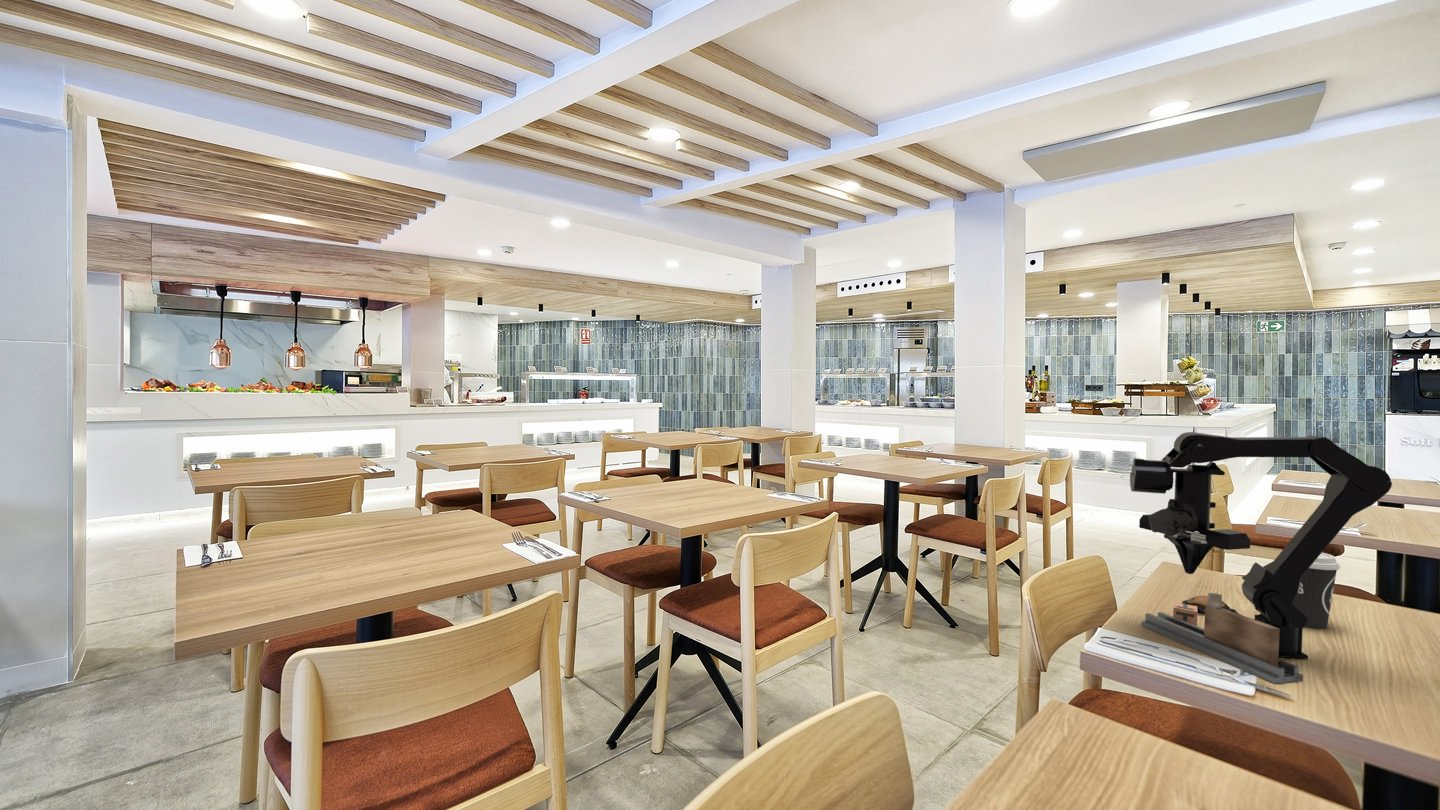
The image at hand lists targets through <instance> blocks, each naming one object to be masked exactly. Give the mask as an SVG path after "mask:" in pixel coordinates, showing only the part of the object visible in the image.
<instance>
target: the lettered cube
mask: <svg viewBox="0 0 1440 810" xmlns="http://www.w3.org/2000/svg"><path fill="white" fill-rule="evenodd" d="M1181 603H1182V602H1181ZM1181 603H1180V602H1175V601H1174V602H1173V608H1172V609H1173V611H1172V612H1173V613H1172V616H1173V617H1175V618H1178V619H1180V620H1183V621H1185V622H1188V623H1190V624H1193V625H1195V626H1198V615H1197V612H1198V611H1197V606H1192V605H1187V604H1181Z"/></svg>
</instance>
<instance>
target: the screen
mask: <svg viewBox="0 0 1440 810" xmlns="http://www.w3.org/2000/svg"><path fill="white" fill-rule="evenodd" d="M1207 596H1208V605H1205V616H1204V628H1203V629H1204V636H1206V637H1209V638H1211V639H1214V640H1216V641H1219V642H1221V643H1223V644H1226V645H1228V646H1231V647H1233V648H1236V649H1238V650H1241V651H1243V652H1245V653H1248V654H1250V655H1253V656H1255V657H1258V658H1260V659H1263V660H1265V661H1267V662H1270V663H1272V664H1275V665H1277V666H1278V659H1279V657H1278V656H1279V631H1280V629H1279V628H1277V627H1274V626H1271V625H1268V624H1265V623H1262V622H1260V621H1257V620H1255V618H1254V619H1253V618H1250V617H1249V616H1245V615H1242V614H1240V613H1239V614H1237V613H1234V612H1231V611H1228V610H1226V609H1223V608H1221V606H1222V601H1223V595H1222V594H1219V593H1217V592H1209V593H1208V595H1207Z"/></svg>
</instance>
